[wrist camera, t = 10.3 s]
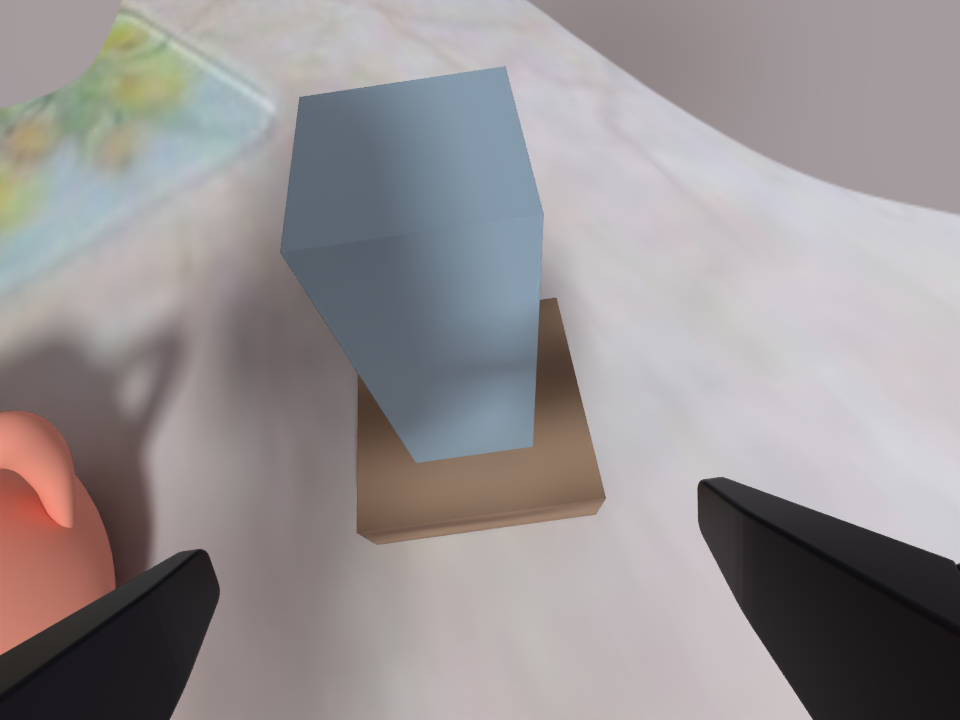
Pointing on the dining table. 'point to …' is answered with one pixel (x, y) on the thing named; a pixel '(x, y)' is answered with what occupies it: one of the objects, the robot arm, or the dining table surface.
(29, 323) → the dining table surface
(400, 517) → the walnut base
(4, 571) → the teapot
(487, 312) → the blue block
